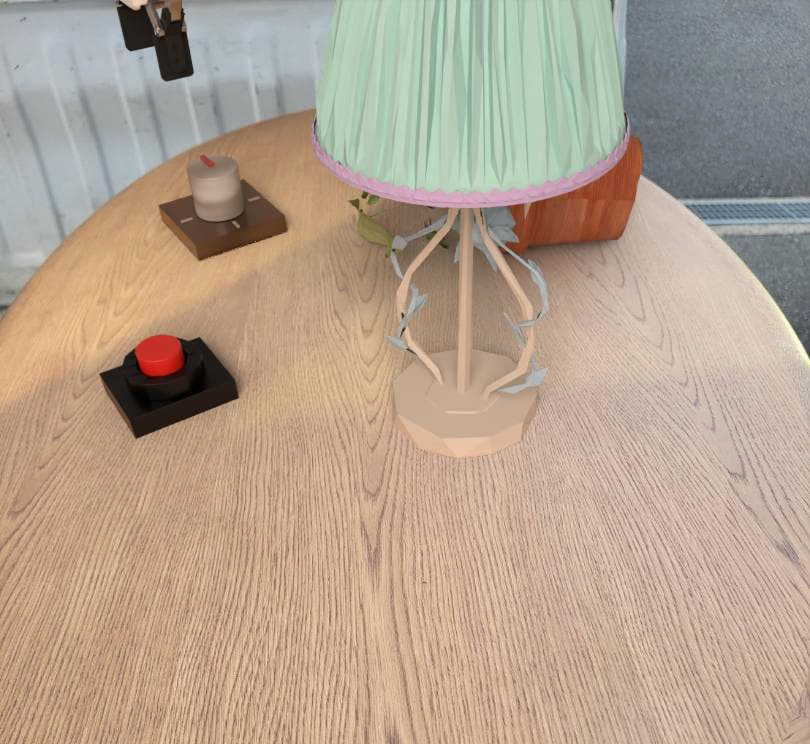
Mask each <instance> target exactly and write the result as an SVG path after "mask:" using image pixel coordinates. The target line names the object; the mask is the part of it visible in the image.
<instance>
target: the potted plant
mask: <svg viewBox="0 0 810 744" xmlns="http://www.w3.org/2000/svg"><path fill="white" fill-rule="evenodd" d="M643 156H644V155H643V146H642V142H641V139H640V137H639V136H635V135H630V138H629V142H628V146H627V149H626V151H625V153H624V156H623V157H622V158H621V159H620V160H619V162H618V163H617V164H616V165H615V166H614V167H613V168H612V169H610V170H609V171H608V172H607V173H606V174H604V175H602V176H601V177H600V178H598V179H596V180H594V181H592V182H590V183H589V184H587V185H585V186H582V187H580V188H578V189H575V190H573V191H570V192H567V193H564V194H561V195H557V196H554V197H550V198H547V199H543V200H538V201H535V202H531V205H530V207H529V210H528V213H527V215H526V218H525V214H524V203H522V204H515V205H508V208H509V210H510V212H511V214H512V216H513V218H514V220H515V222H516V224H515V226H514V228H513V230H512V231H513V233H514V234H515V235H516V236H517V237H518V239H519V243H518V242H509V241H507V242H506V244H505V246H506V247H507V248H508V249H510V250H511V251H512V252H514V253H515V254H516V255H518V254H520V255H524V253H525V252H526V251H527V249H528V248H527V247H531V246H545V245H561V244H575V243H576V244H577V243H590V242H605V241H606V242H607V241H618V240H619V239H620V238H622V236H623V234H624V232H625V230H626V228H627V225H628V222H629V219H630V216H631V213H632V210H633V208H634V205H635V202H636V199H637V191H638V185H639V181H640V177H641V174H642V171H643V166H644V165H643V161H644V160H643V158H644V157H643ZM368 196H369V198H368V201H367V202H366V205H369V206H372V205H376V204H377V203H378V202H379V201H380V198H381V197H380V196H377V195H373V194H370V195H369V193H368V192H365V191H363V190H362V194H361V195H360V198H361V199H363V200H366V199H367V197H368ZM347 202H348V203H349V204H351V205H352V207H354V208H355V209H356V210H357V212H358V215H359V216H358V221H357V231H358V236H359V237H361V238H364V239H365V240H366V241H367V242H369V243H376V244H379V245H381V246H387V249H386V251H385V253H384V257H385V258H391V257H390V255H391V248H392V243H393V241H394V238H395V236H393V235H392V234H391V233H390V232H389V231H388V230H387V229H386V228H384V227H383V226H382V225H381V224H380V223H379V222H378V221H376V220H375V218H374V217H376V216H379V215H380V214H382V213H385V212H388V211H390V210H391V211H392V210H394V209H396V208H400V207H403V206H406V205H410V204H411V203H405V204H403V205H402V204H401V205H398V206H395V207H391V208H389V209H385V210H382V211H379V212H377V213H374V214H371V215H368V214H366V213H365V212H364V210H363V208H360V199H359V198H355V199H350V200H347ZM424 206H425V207H427V208H429V209H431V210H435V208H436V207H434V206H426V205H424ZM460 212H461V209H459V211H458V213H457V215H456V217H457V218H458V216H459V215H460ZM446 215H448V213H446ZM428 219H429V220H428V222H429V225H427V224H426V221H425V220H424V222H423V224H424V229H425V228H426V227H428V226H430V225H431V224H432V217H431V214H429V218H428ZM437 232H438V231H437V230H434V231H432V232H429V233H427V234H425V236H426V240H428V241H430V240H431V239H432V237H433V236H434V235H435V234H436V233H437ZM437 245H439V246H440V247H442V248H443V249H445V250H448V249H450V244H446V243H445V242H444V240H443V239H441V240H440V242H439V243H438V244H437ZM498 248H499V250H500V252H501V253H502V254H510V253H509V252H508V251H506V250H505V249H504V248H503V247H500V246H498ZM405 249H406V247H405V248H404V249H403V250H401V249H397V250H396V251H395V256H396V255H398V254H401V253H403V252H404V251H405Z"/></svg>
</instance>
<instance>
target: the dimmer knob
mask: <svg viewBox="0 0 810 744" xmlns="http://www.w3.org/2000/svg"><path fill="white" fill-rule="evenodd" d="M186 173H187V179H188V182H189V187H190V192H191V195H192V197H193V201H194V206H195V210H196V214H197V216H198V217H199V218H201V219H203V220H206V221H213V222H219V221H226V220H230V219H233V218H235V217H237V216H239V215H240V214H242V213H243V211H244V209H245V204H244V198H243V192H242V187H241V181H240V180H241V176H240V171H239V165H238V162H237V160H235V159H234V158H232V157H229V156H225V155H211V156H206V155H205V154H201V155H199V158H198V159H196V160H193V161H191V162H190V163H189V164H188V165H187V167H186Z"/></svg>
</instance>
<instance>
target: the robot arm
mask: <svg viewBox="0 0 810 744" xmlns="http://www.w3.org/2000/svg"><path fill="white" fill-rule="evenodd" d="M114 3H115V4H116V13H117V16H118V21H119V24H120V29H121V33H122V34H121V35H122V38H123V41H124V46H125V49H126V50H127V51H128V52H136V51H140V50H145V49H149V48H153V47H154V50H155V55H156V60H157V64H158V65H157V66H158V70H159V74H160V78H161V79H162V80H163V81H164V82H172V81H176V80H181V79H185V78H189V77H193V75H194V73H195V71H194V64H193V57H192V54H191V48H190V42H189V38H188V33H187V31H188V27H187V23H186V20H185V16H186V13H185V12H184V11H185V8H184V7H183V0H114ZM160 9H161V11H160V16H159V13H158V11H157V10H160Z"/></svg>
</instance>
